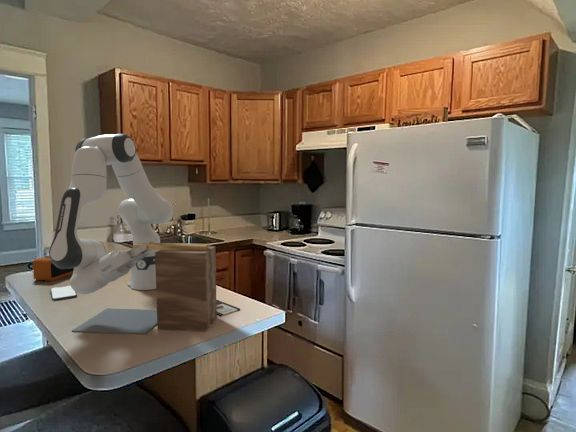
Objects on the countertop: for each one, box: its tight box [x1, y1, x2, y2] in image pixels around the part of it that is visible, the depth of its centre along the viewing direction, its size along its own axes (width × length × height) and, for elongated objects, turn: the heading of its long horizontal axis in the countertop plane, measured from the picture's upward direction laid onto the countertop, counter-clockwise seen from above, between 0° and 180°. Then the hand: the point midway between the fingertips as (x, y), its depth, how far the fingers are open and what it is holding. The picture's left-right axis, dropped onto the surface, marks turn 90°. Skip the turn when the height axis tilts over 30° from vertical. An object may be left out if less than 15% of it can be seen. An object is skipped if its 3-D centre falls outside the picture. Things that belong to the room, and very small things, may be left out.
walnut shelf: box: [155, 245, 218, 332], centre depth 125 cm, size 12×16×25 cm
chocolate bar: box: [216, 299, 241, 317], centre depth 142 cm, size 9×1×18 cm
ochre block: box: [132, 242, 210, 251], centre depth 124 cm, size 4×24×2 cm, turn 86°
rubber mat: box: [71, 308, 157, 335], centre depth 128 cm, size 20×24×1 cm
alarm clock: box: [32, 253, 74, 282], centre depth 186 cm, size 24×8×11 cm, turn 170°
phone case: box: [49, 285, 78, 301], centre depth 157 cm, size 9×2×16 cm
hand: (150, 244), depth 124 cm, fingers closed on ochre block, 4 cm apart
